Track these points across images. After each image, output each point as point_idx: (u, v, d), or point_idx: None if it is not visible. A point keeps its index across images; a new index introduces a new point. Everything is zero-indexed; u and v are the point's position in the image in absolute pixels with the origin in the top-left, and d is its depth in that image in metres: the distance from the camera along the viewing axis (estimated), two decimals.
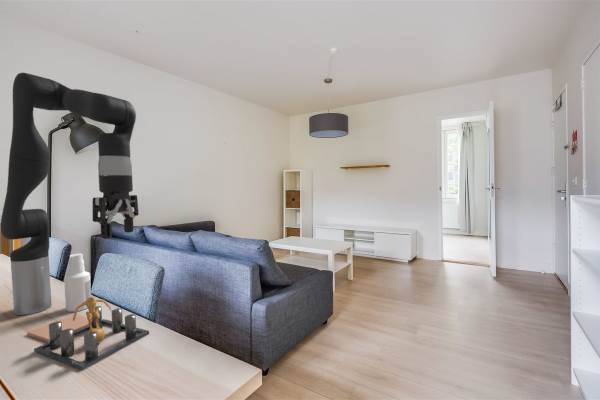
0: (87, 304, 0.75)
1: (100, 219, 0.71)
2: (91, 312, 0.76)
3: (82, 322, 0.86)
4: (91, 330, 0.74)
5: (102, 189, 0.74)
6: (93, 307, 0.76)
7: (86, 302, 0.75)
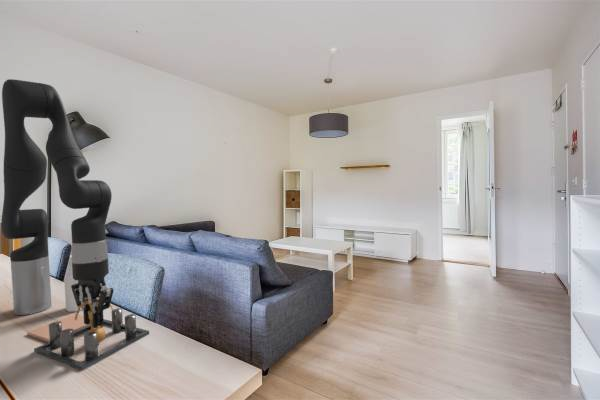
0: None
1: (107, 307, 0.74)
2: None
3: (82, 322, 0.86)
4: (92, 330, 0.74)
5: (95, 276, 0.72)
6: None
7: None
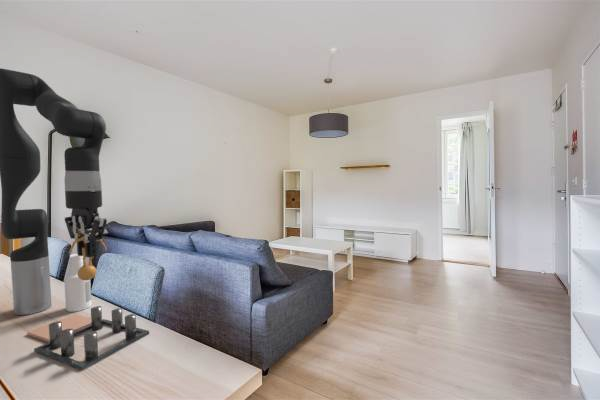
0: None
1: (100, 238, 0.74)
2: None
3: (82, 322, 0.86)
4: (84, 266, 0.75)
5: (89, 205, 0.72)
6: None
7: (84, 238, 0.75)
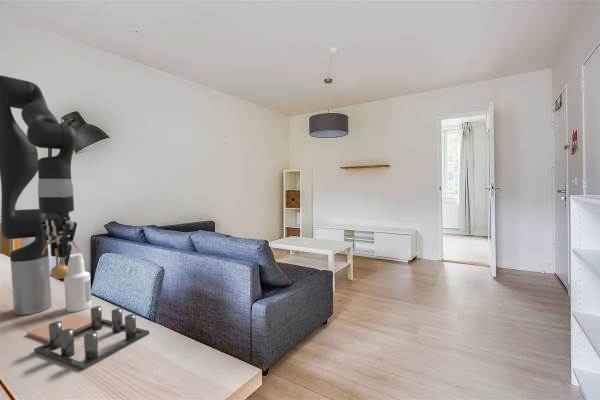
0: None
1: (71, 240, 0.81)
2: None
3: (82, 322, 0.86)
4: (57, 266, 0.82)
5: (60, 210, 0.79)
6: None
7: None
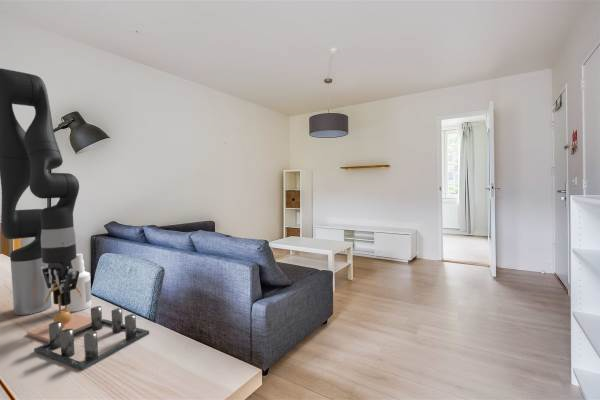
0: None
1: (74, 288, 0.82)
2: None
3: (82, 322, 0.86)
4: (60, 312, 0.82)
5: (62, 259, 0.80)
6: None
7: None
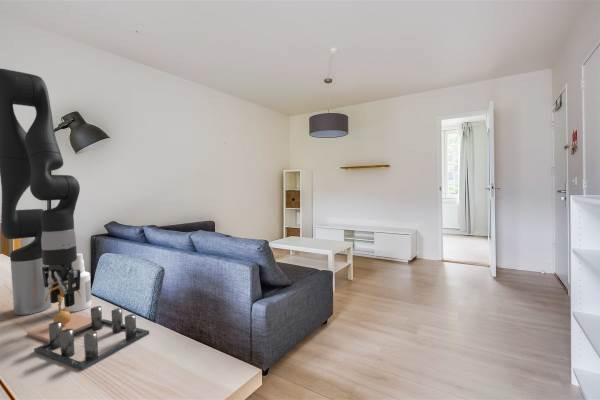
0: (60, 288, 0.84)
1: (78, 288, 0.81)
2: (62, 296, 0.84)
3: (82, 322, 0.86)
4: (59, 312, 0.83)
5: (63, 261, 0.80)
6: None
7: (59, 286, 0.84)
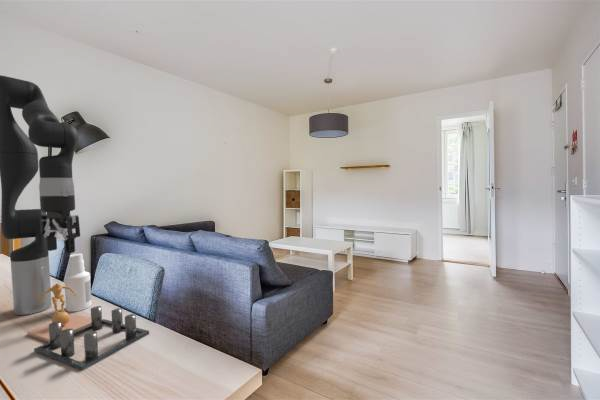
0: (53, 290, 0.83)
1: (78, 234, 0.80)
2: (57, 297, 0.84)
3: (82, 322, 0.86)
4: (57, 313, 0.83)
5: (61, 208, 0.79)
6: (59, 293, 0.84)
7: (52, 288, 0.83)
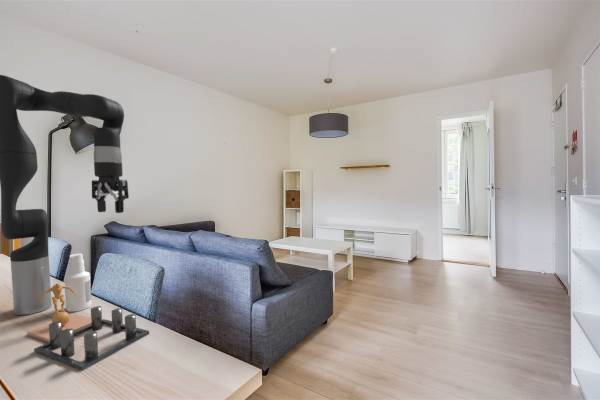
0: (53, 290, 0.83)
1: (127, 196, 0.92)
2: (57, 297, 0.84)
3: (82, 322, 0.86)
4: (57, 313, 0.83)
5: (113, 173, 0.91)
6: (59, 293, 0.84)
7: (52, 288, 0.83)
